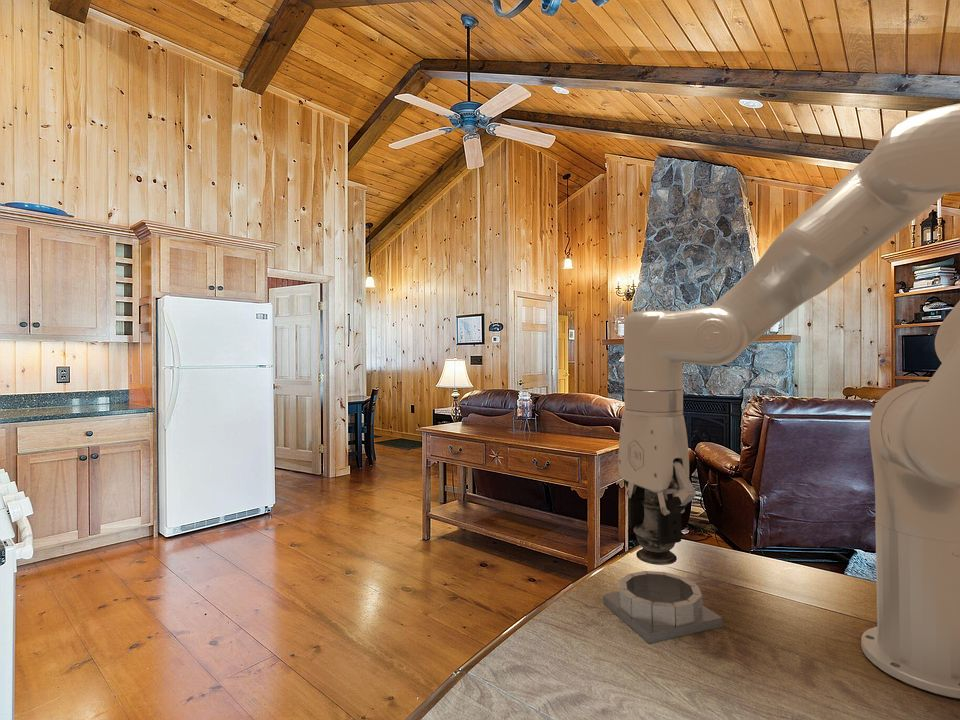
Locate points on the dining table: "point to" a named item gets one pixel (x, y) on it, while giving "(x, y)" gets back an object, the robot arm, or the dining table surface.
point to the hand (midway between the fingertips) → (654, 532)
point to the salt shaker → (652, 534)
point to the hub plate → (662, 630)
